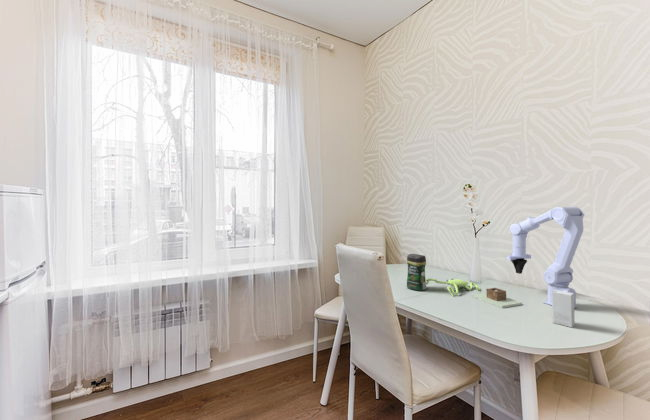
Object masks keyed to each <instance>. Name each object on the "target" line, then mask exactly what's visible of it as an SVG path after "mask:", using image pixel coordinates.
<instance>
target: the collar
mask: <svg viewBox="0 0 650 420" xmlns="http://www.w3.org/2000/svg"><path fill="white" fill-rule="evenodd" d="M494 290H498V291H494ZM486 293H487V298H490V299H492V300H495V301H501V300H506V297H507V290H504V289H501V288H497V287H492V288H491V287H490V288H486Z"/></svg>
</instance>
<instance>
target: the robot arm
mask: <svg viewBox="0 0 650 420" xmlns="http://www.w3.org/2000/svg"><path fill="white" fill-rule="evenodd" d="M584 217H585V214H584V212H583V211H582V210H581V208H579V207H578V206H563V207H562V206H555V207H554V208H550V210H548V211H546V212H544V213H542V214H541V215H538V216H537V217H533V216H528V217H526V219H525V220H520V221H518V223H512V224H510V227H509V232H510V234H511V235H512V252H511V253H510V254H509V255H507V256H506V260H507V261H511V263H512V264H513V267H514V270H515V273H516V274H522V273H523V270H524V268H525V266H526V264H527V263H528V260H527V259H532V255H531V254H529V253H527V252H526V251H527V250H526V249H527V243H526V242H527V237H528V234H529V233H530V232H531V231H533V230H537V229H539V227H540V225H542V224H544V223H547V222H551V221H552V220H554V221H555V222H556V223H557V224H558V225H559V226H561V227H562V228H563V230H564V233H563V236H562V239H561V242H560V245H559V247H558V250H557V253H556V256H555V259H554V262H553V263H551V264H550V265H549V266H548V267H547V270H545V271H544V272H543V275H542V277H543V280H544V282H545V283H546V285H547V300H543V301H542V303H543V304H546V305H550V306H552V292H553V291H554V290H558V291H564V292H570V293H574V309H575V308H578V306H577V292H576V290H575V289H574V288H572V287H570V283H572V282H573V279H574V277H573V272H574V270H573V268H571V265H572V261H573V259H574V256H575V254H576V251H577V248H578V246H579V244H580V240H581V238H582V236H583V233H584V222H583V220H584ZM526 253H527V254H526Z"/></svg>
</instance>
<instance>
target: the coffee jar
mask: <svg viewBox="0 0 650 420" xmlns="http://www.w3.org/2000/svg"><path fill="white" fill-rule="evenodd" d="M406 257H407V258H406V263H407V279H406V288H407V289H410V290H413V291H417V292H421V291H424V290H426V289H427V285H426V282H427V281H426V264H427V259H426V256H425V255H422V254H417V253H409V254H407V256H406Z"/></svg>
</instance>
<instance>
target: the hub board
mask: <svg viewBox="0 0 650 420" xmlns="http://www.w3.org/2000/svg"><path fill="white" fill-rule="evenodd" d="M494 291H498V290H494ZM472 297H473V298H474V299H477V300H480V301H482V302H484V303H488V304H491V305H492V306H496V307H498V308H501V309H505V308H511V307H517V306H518V307H519V306H523V302H522V301H519V300H516V299H513V298H510V297H507V296H506V300H501V301H495V300H492V299H490V298H487V292H483V293H476V294H472Z"/></svg>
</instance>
